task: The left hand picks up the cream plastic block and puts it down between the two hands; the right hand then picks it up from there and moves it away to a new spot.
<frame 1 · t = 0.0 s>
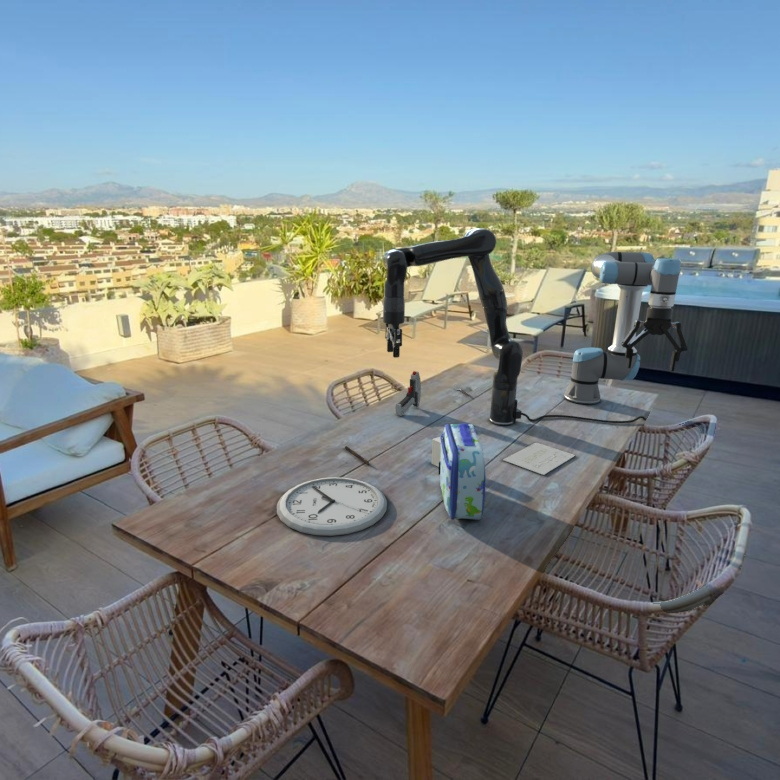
left hand: (393, 354, 187), 29 cm above the table, tool pointing down, fingers open, 8 cm apart
right hand: (649, 368, 179), 28 cm above the table, tool pointing down, fingers open, 13 cm apart
dark brown rod: (356, 456, 173), on the table
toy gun: (408, 411, 216), on the table
block: (441, 464, 169), on the table
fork: (462, 392, 243), on the table
lunch box: (459, 502, 146), on the table
invitation card: (539, 458, 174), on the table
wall clock: (332, 505, 143), on the table
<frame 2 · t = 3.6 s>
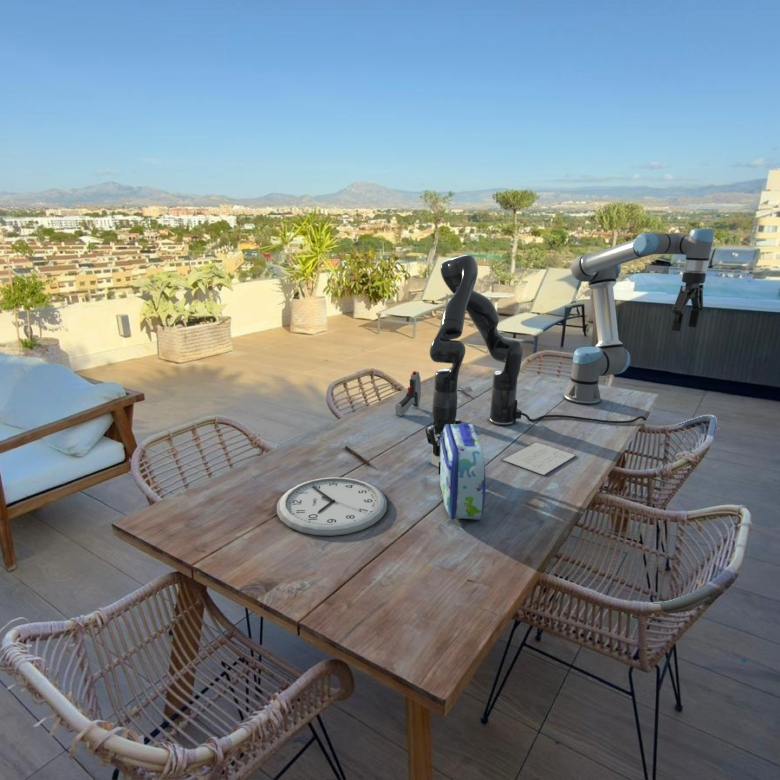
left hand: (442, 453, 167), 4 cm above the table, tool pointing down, fingers closed on block, 4 cm apart
right hand: (684, 328, 200), 38 cm above the table, tool pointing down, fingers open, 13 cm apart
block: (441, 464, 169), on the table, touching left hand
everything else where it was.
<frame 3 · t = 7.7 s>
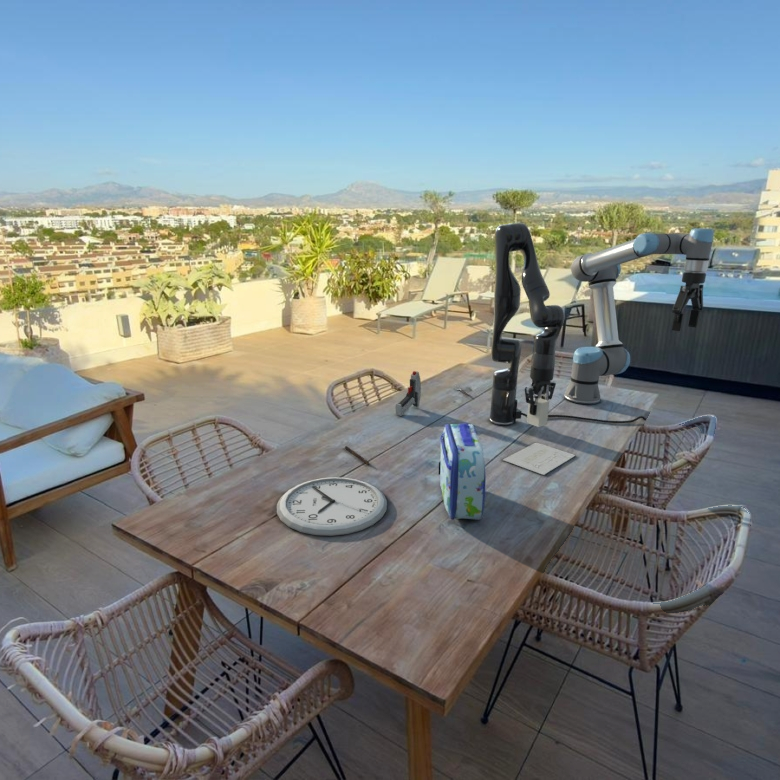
left hand: (537, 412, 180), 13 cm above the table, tool pointing down, fingers closed on block, 4 cm apart
right hand: (684, 328, 200), 38 cm above the table, tool pointing down, fingers open, 13 cm apart
block: (536, 423, 181), point 9 cm above the table, touching left hand
everything else where it was.
when the left hand's fingers open (5 cm above the table, at t = 11.7 s): block drops 2 cm, on the table.
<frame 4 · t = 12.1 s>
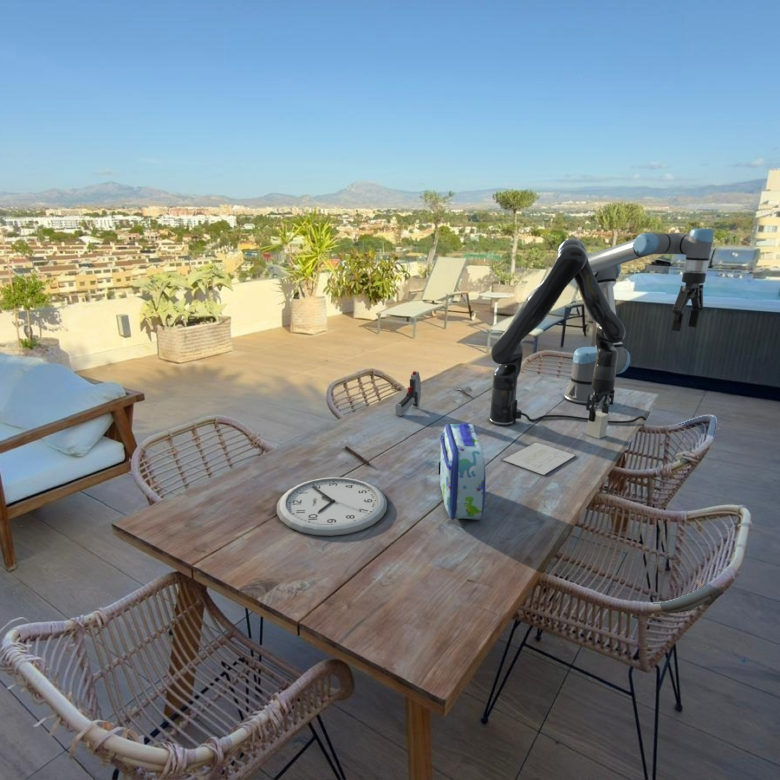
left hand: (597, 418, 193), 6 cm above the table, tool pointing down, fingers open, 8 cm apart
right hand: (684, 328, 200), 38 cm above the table, tool pointing down, fingers open, 13 cm apart
block: (595, 435, 195), on the table
everything else where it was.
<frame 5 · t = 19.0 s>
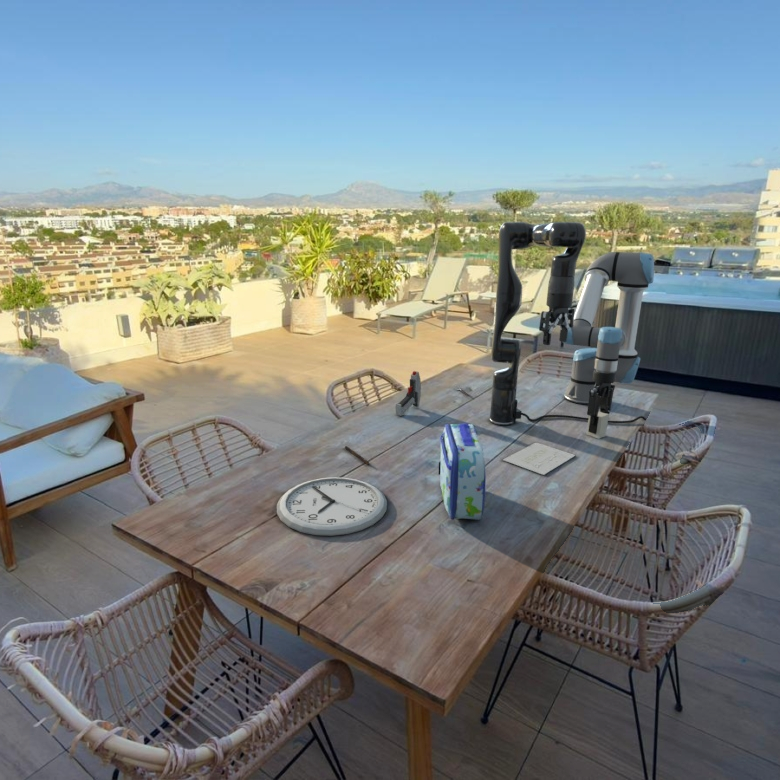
left hand: (554, 343, 164), 39 cm above the table, tool pointing down, fingers open, 8 cm apart
right hand: (596, 430, 195), 2 cm above the table, tool pointing down, fingers closed on block, 4 cm apart
block: (595, 435, 195), on the table, touching right hand
everything else where it was.
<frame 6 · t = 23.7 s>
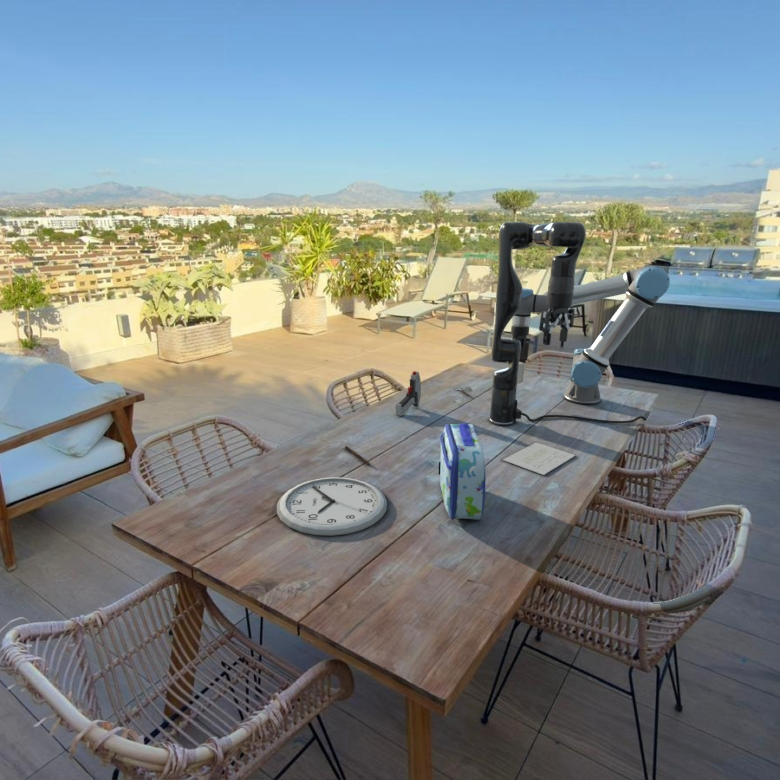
left hand: (554, 343, 164), 39 cm above the table, tool pointing down, fingers open, 8 cm apart
right hand: (515, 377, 230), 10 cm above the table, tool pointing down, fingers closed on block, 4 cm apart
block: (514, 381, 231), point 9 cm above the table, touching right hand
everything else where it was.
when the right hand's fingers open (3 cm above the table, at t = 28.4 s): block drops 2 cm, on the table.
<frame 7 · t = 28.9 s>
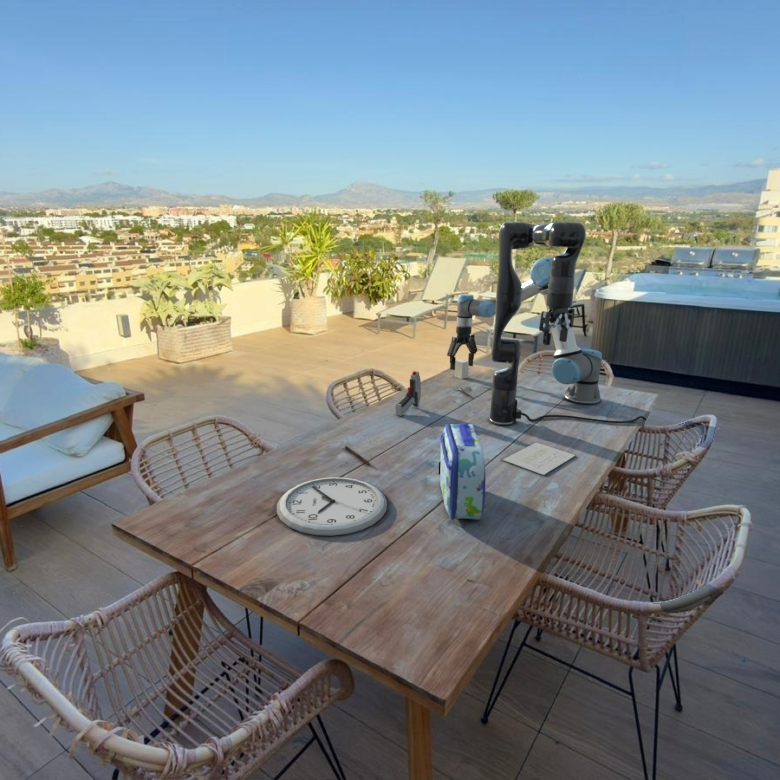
left hand: (554, 343, 164), 39 cm above the table, tool pointing down, fingers open, 8 cm apart
right hand: (461, 367, 266), 5 cm above the table, tool pointing down, fingers open, 12 cm apart
block: (461, 377, 268), on the table
everything else where it was.
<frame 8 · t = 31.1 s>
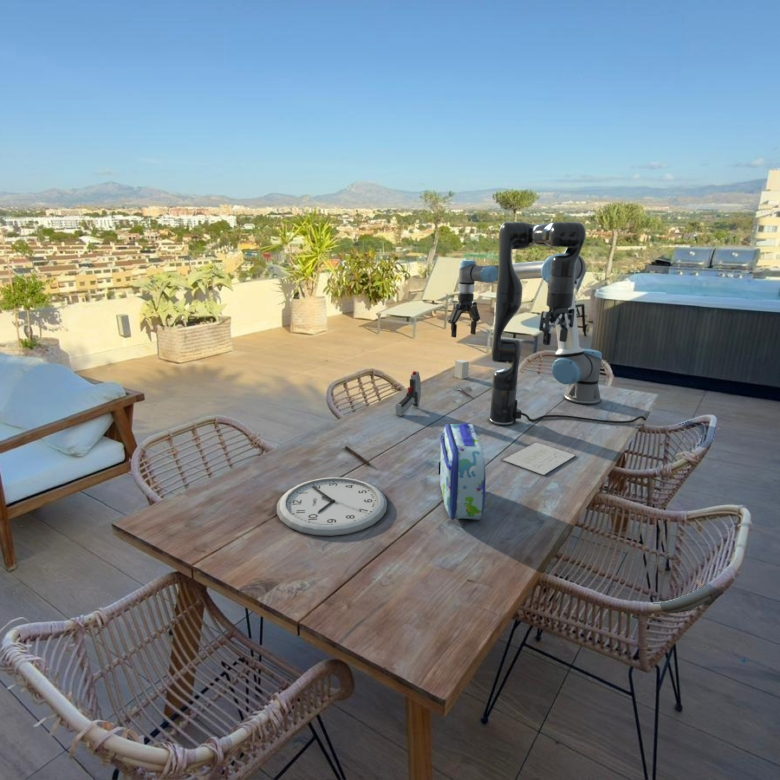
left hand: (554, 343, 164), 39 cm above the table, tool pointing down, fingers open, 8 cm apart
right hand: (463, 335, 261), 22 cm above the table, tool pointing down, fingers open, 13 cm apart
nothing on the table moved.
at the end: block inside the target area (0.1 cm from its centre), on the table; block tilted 0°; the two hands never held the block at the same time; the left hand is holding nothing; the right hand is holding nothing; block at rest at the end (0.0 cm/s) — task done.
